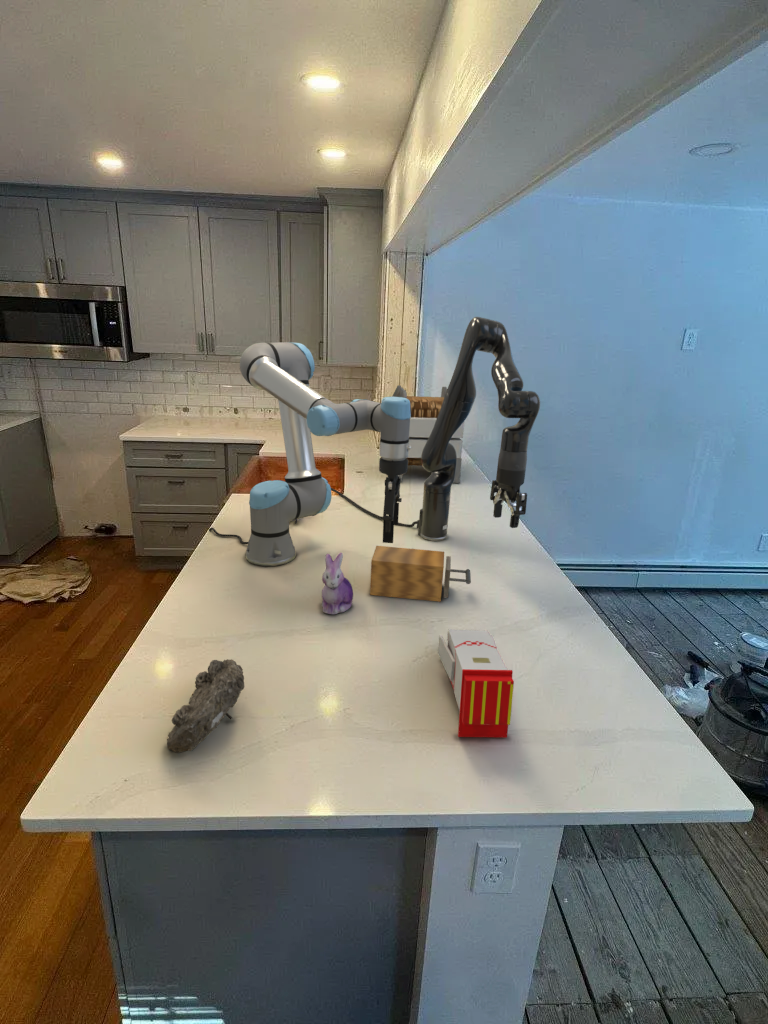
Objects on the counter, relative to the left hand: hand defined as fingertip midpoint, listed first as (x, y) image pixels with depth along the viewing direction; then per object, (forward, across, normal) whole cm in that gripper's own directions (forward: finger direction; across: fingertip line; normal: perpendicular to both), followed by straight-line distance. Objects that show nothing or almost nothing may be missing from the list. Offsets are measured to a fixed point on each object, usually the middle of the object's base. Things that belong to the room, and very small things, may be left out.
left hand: (390, 533), depth 155 cm
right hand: (-3, +7, -31) cm, 32 cm away
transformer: (+16, +122, -2) cm, 123 cm away
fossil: (+17, -59, +27) cm, 67 cm away
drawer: (+16, 0, -11) cm, 19 cm away
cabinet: (+17, 0, -5) cm, 18 cm away
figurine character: (+16, +48, +40) cm, 65 cm away
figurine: (+17, -13, +12) cm, 25 cm away
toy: (+17, -43, -22) cm, 51 cm away
